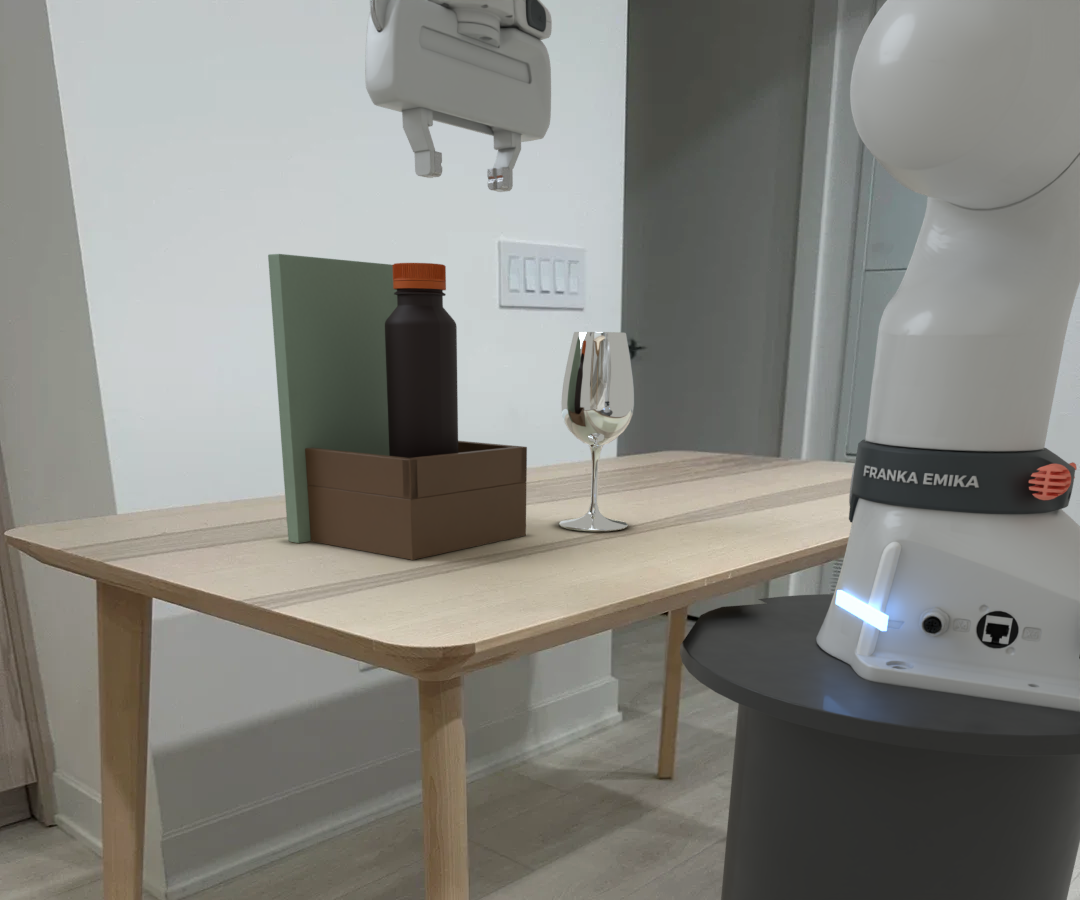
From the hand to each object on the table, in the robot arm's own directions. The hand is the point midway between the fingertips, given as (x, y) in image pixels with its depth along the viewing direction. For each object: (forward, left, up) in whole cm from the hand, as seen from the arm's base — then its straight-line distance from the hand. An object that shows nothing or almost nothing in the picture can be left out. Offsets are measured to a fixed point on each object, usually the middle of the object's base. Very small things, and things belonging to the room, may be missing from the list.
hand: (466, 184), depth 88 cm
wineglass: (-2, -18, -32) cm, 37 cm away
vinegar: (+6, 0, -27) cm, 27 cm away
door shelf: (+7, 0, -32) cm, 32 cm away
